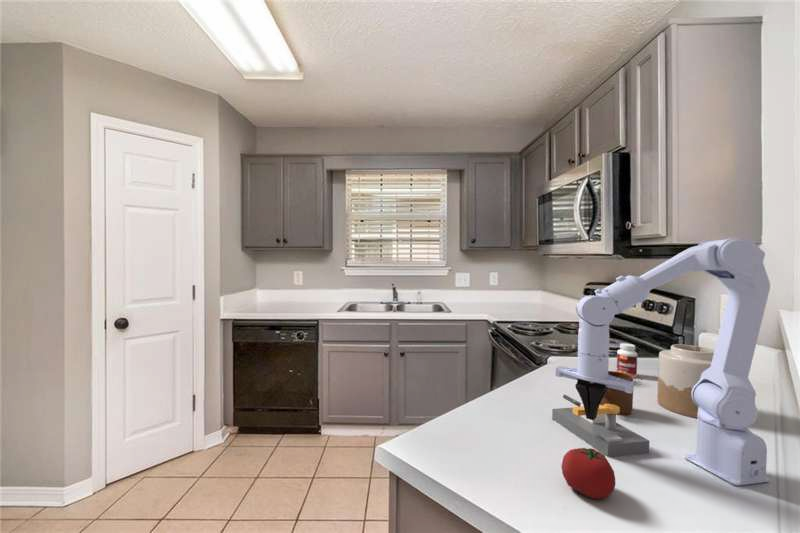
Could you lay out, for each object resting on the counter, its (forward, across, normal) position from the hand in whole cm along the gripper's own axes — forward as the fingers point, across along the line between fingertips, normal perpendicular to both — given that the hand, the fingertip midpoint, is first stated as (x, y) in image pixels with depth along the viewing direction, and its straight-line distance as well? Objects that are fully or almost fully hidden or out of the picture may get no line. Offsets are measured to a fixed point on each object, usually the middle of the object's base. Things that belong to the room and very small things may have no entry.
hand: (591, 418), depth 75 cm
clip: (0, 0, -4) cm, 4 cm away
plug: (+4, +6, -13) cm, 14 cm away
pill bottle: (+7, +9, -67) cm, 68 cm away
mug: (+7, +3, -26) cm, 27 cm away
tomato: (+7, -4, +16) cm, 18 cm away
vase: (+7, -12, -45) cm, 47 cm away
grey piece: (+6, +1, -8) cm, 11 cm away
